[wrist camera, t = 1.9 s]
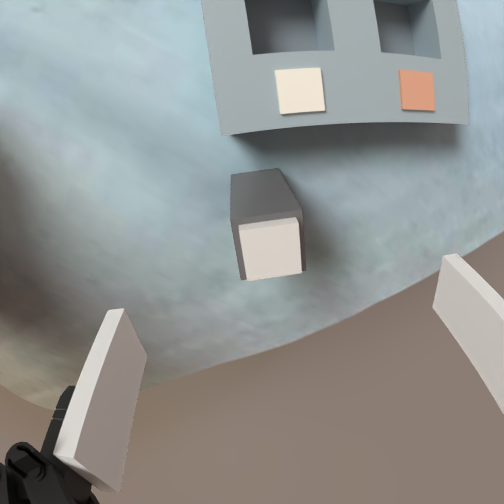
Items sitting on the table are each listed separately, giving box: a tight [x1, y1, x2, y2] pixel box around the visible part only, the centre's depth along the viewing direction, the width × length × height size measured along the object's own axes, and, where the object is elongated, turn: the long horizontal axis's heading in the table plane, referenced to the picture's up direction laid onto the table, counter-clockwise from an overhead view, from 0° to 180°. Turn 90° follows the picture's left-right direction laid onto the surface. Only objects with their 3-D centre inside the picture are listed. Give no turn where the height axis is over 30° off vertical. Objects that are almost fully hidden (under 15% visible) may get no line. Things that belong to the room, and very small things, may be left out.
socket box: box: [201, 0, 469, 136], centre depth 18 cm, size 20×14×5 cm
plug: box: [230, 168, 306, 281], centre depth 22 cm, size 4×4×11 cm
